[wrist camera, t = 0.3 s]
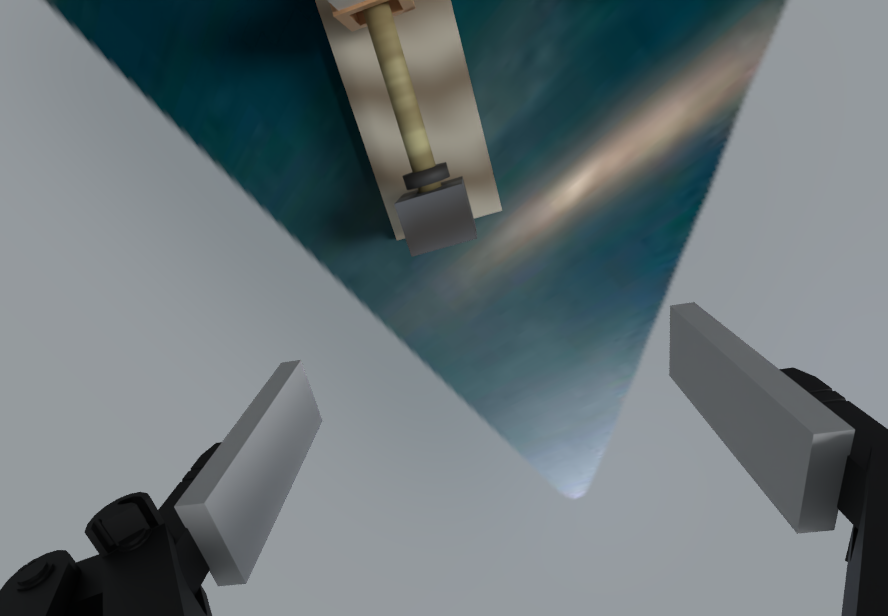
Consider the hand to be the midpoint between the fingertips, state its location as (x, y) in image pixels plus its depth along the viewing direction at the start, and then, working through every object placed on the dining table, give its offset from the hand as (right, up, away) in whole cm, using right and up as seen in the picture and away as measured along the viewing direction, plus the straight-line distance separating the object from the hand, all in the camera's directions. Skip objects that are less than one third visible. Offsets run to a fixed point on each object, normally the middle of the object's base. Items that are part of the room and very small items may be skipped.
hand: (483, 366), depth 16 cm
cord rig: (-4, +21, +21) cm, 30 cm away
